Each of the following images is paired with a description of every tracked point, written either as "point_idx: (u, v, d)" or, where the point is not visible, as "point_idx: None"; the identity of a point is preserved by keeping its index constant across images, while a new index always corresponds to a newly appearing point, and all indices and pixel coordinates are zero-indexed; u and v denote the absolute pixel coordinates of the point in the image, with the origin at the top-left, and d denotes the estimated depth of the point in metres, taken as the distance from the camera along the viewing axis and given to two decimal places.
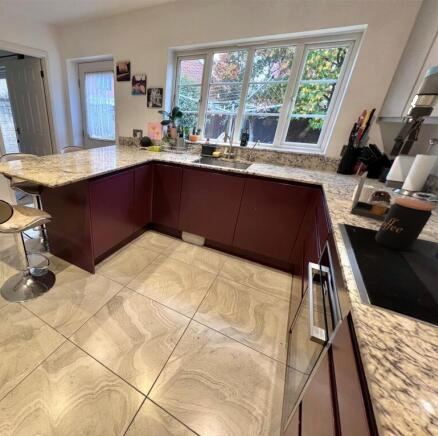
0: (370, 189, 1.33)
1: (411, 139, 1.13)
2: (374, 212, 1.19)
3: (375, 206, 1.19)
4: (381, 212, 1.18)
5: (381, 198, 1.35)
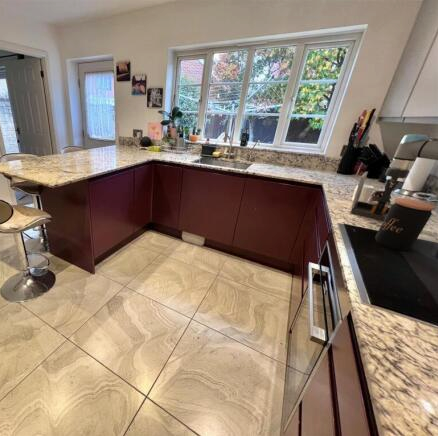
0: (370, 189, 1.33)
1: None
2: None
3: (375, 206, 1.19)
4: (381, 212, 1.18)
5: None
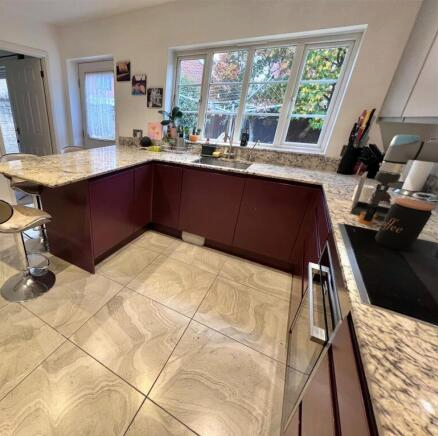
0: (370, 189, 1.33)
1: None
2: (361, 221, 1.09)
3: (362, 215, 1.09)
4: None
5: None
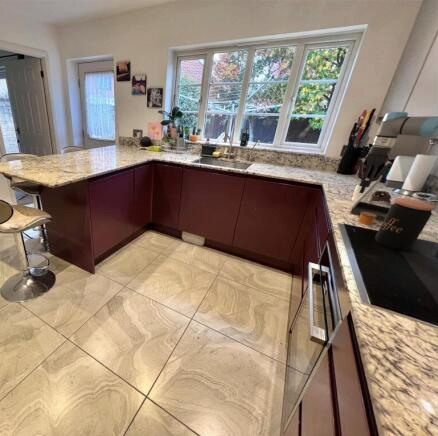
0: None
1: None
2: (361, 221, 1.09)
3: (362, 215, 1.09)
4: (369, 221, 1.08)
5: (381, 198, 1.35)
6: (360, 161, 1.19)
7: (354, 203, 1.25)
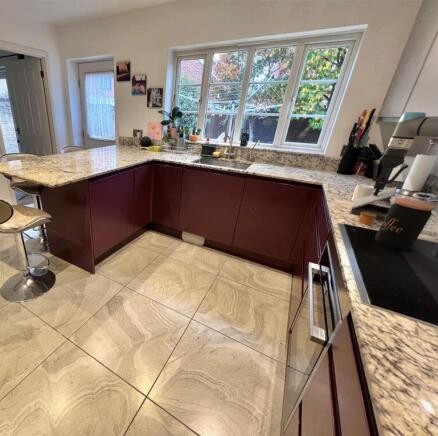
0: (370, 189, 1.33)
1: (379, 180, 1.17)
2: (361, 221, 1.09)
3: (362, 215, 1.09)
4: (369, 221, 1.08)
5: None
6: (374, 163, 1.15)
7: (355, 203, 1.24)
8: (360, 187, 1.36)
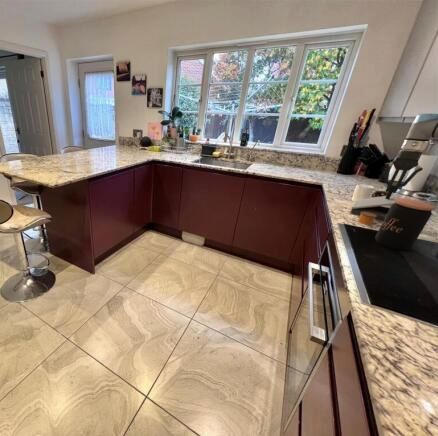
0: (370, 189, 1.33)
1: (392, 183, 1.14)
2: (361, 221, 1.09)
3: (362, 215, 1.09)
4: (369, 221, 1.08)
5: None
6: (387, 165, 1.12)
7: (355, 203, 1.24)
8: (360, 187, 1.36)
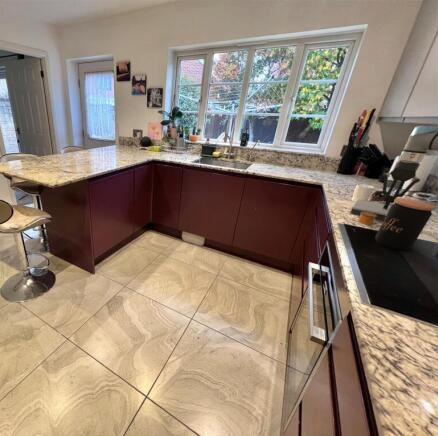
0: (370, 189, 1.33)
1: (389, 193, 1.15)
2: (361, 221, 1.09)
3: (362, 215, 1.09)
4: (369, 221, 1.08)
5: (381, 198, 1.35)
6: (385, 176, 1.14)
7: (355, 204, 1.24)
8: (360, 187, 1.36)
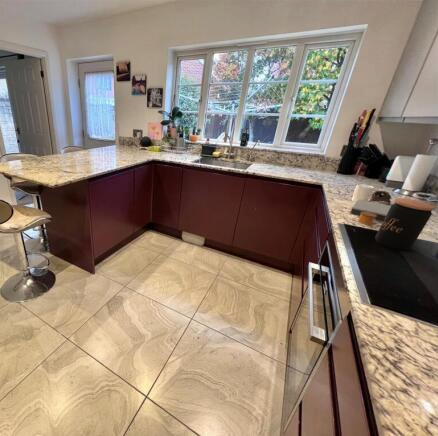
0: (370, 189, 1.33)
1: None
2: (361, 221, 1.09)
3: (362, 215, 1.09)
4: (369, 221, 1.08)
5: (381, 198, 1.35)
6: None
7: (356, 204, 1.24)
8: (360, 187, 1.36)
